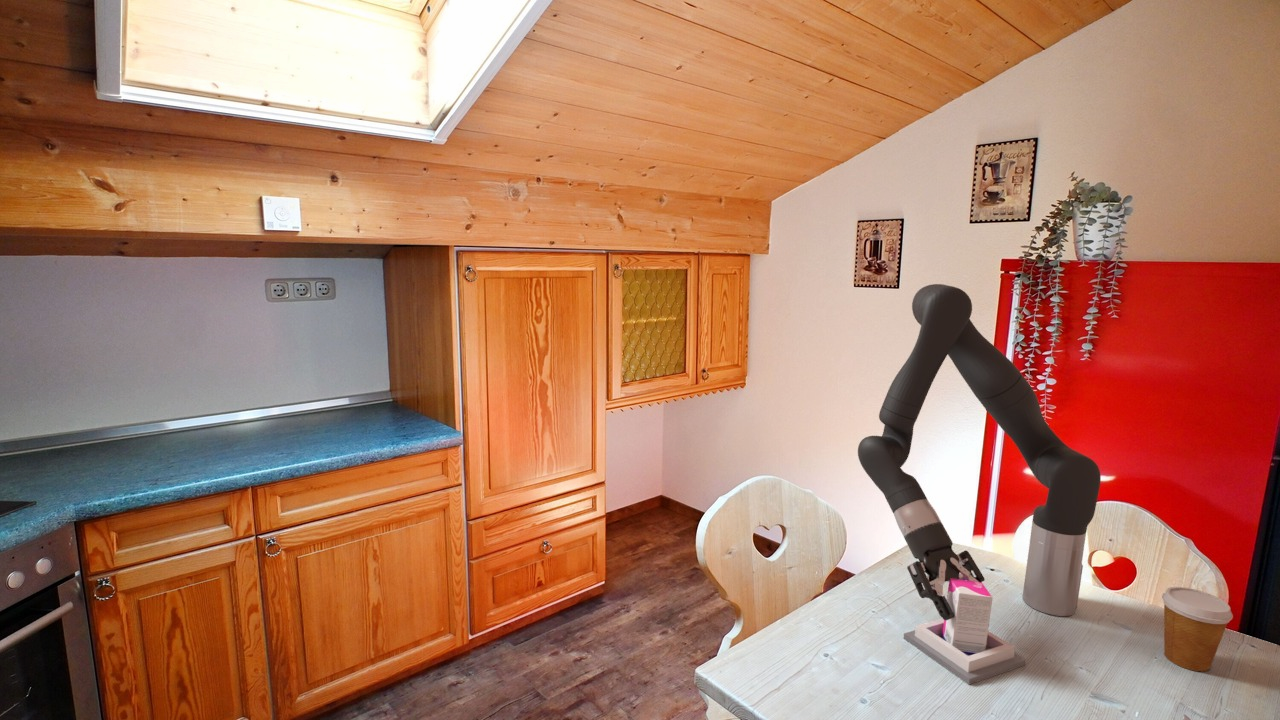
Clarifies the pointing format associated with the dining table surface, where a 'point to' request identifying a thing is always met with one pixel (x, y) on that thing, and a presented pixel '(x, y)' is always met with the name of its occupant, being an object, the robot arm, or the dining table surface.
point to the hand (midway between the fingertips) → (967, 614)
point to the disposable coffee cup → (1193, 627)
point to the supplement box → (968, 616)
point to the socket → (964, 666)
